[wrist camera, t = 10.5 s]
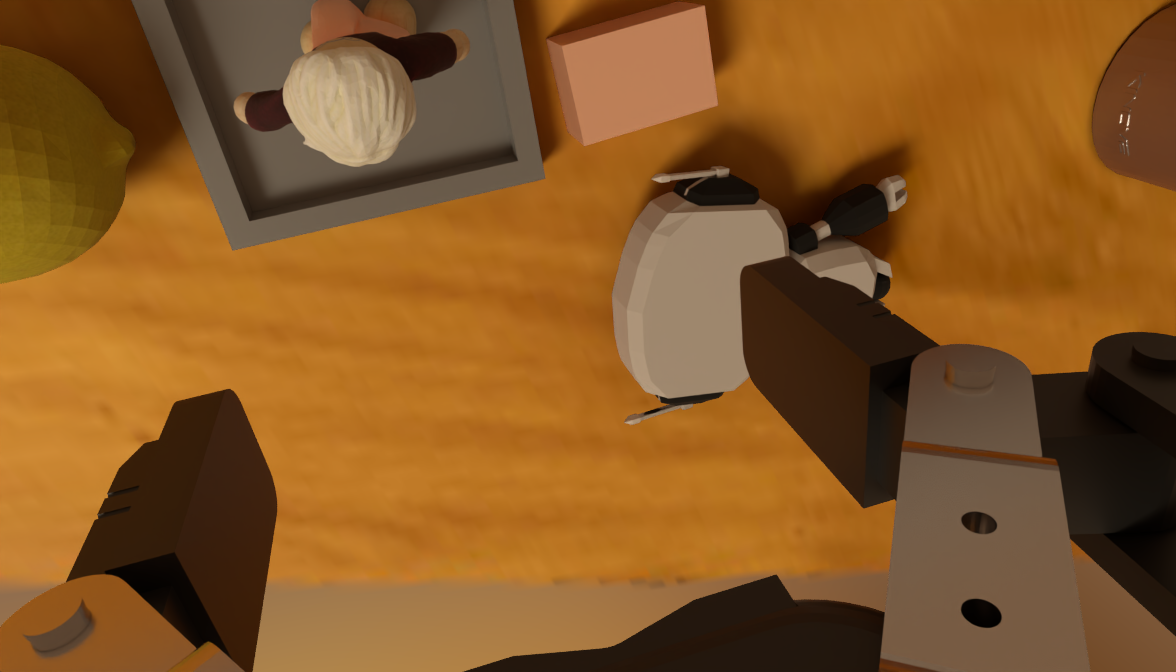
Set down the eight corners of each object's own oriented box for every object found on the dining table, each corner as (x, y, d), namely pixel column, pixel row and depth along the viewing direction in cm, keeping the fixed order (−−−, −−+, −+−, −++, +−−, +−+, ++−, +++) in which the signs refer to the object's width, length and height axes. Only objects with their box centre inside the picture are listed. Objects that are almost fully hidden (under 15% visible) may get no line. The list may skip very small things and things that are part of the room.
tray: (473, -177, 28) (480, -183, 27) (536, 168, 34) (545, 178, 33) (96, -120, 26) (81, -124, 25) (237, 236, 32) (232, 250, 31)
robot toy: (878, 151, 40) (608, 153, 35) (941, 174, 36) (648, 179, 31) (828, 360, 45) (588, 388, 40) (878, 399, 41) (620, 435, 36)
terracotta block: (676, 0, 33) (704, 5, 30) (690, 93, 35) (717, 105, 32) (544, 38, 32) (561, 46, 30) (566, 130, 34) (584, 146, 32)
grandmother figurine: (409, -53, 29) (444, -49, 18) (461, 44, 31) (521, 100, 20) (229, 48, 29) (156, 114, 18) (293, 139, 31) (262, 247, 20)
